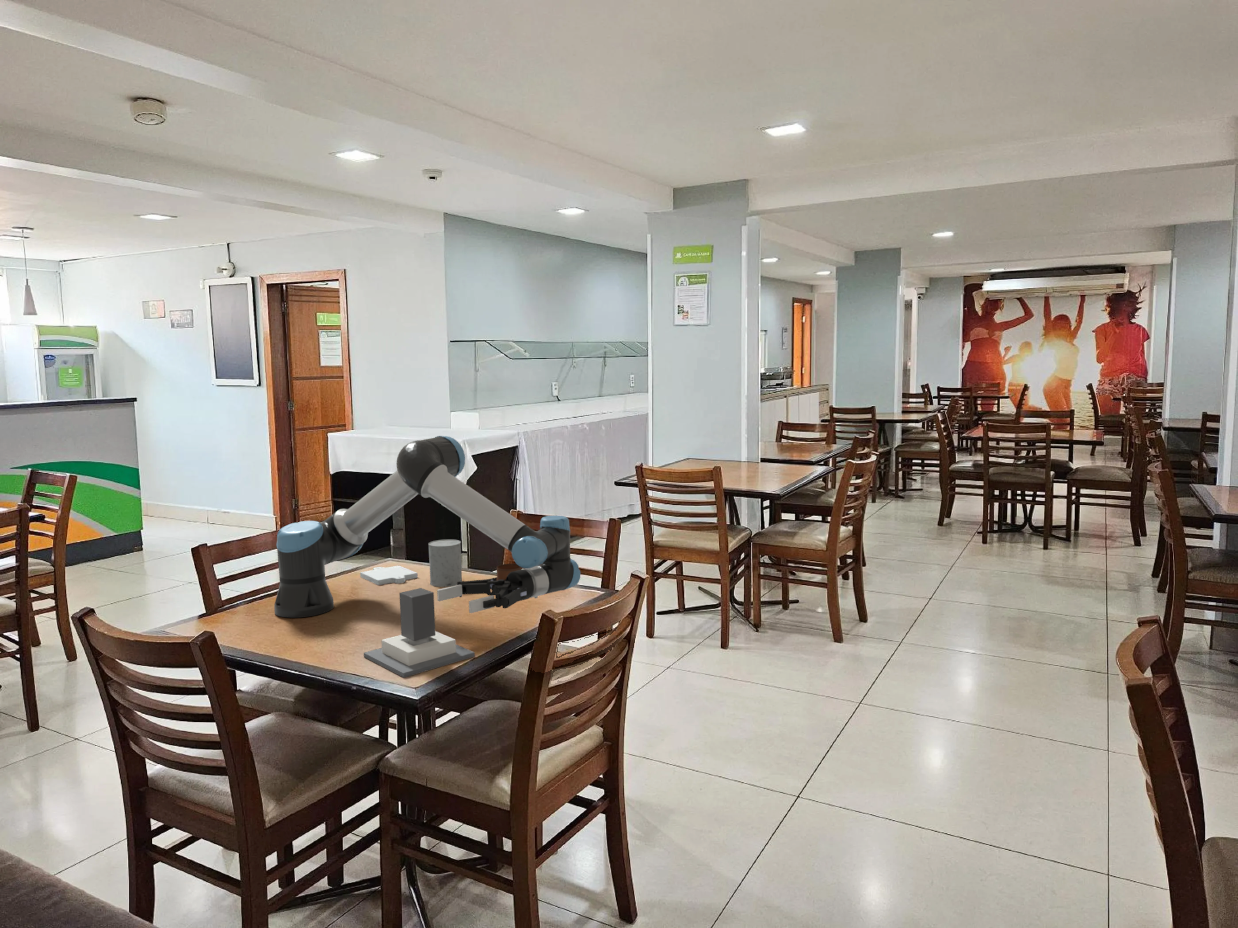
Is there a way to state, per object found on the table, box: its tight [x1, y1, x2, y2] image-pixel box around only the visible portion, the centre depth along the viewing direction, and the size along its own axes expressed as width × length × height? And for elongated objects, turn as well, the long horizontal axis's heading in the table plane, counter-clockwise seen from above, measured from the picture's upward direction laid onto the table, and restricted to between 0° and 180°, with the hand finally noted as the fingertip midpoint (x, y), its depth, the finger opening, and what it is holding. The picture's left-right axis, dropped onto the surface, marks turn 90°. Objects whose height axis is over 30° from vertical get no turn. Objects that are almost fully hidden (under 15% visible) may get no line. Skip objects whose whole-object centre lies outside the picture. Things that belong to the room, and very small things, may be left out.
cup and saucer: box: [495, 563, 525, 581], centre depth 253 cm, size 12×12×6 cm
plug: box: [399, 587, 436, 646], centre depth 194 cm, size 6×6×14 cm
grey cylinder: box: [428, 538, 463, 588], centre depth 258 cm, size 10×10×12 cm
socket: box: [363, 630, 476, 678], centre depth 195 cm, size 18×18×4 cm
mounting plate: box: [359, 565, 419, 586], centre depth 266 cm, size 18×13×2 cm
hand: (453, 601), depth 200 cm, fingers open, 13 cm apart
